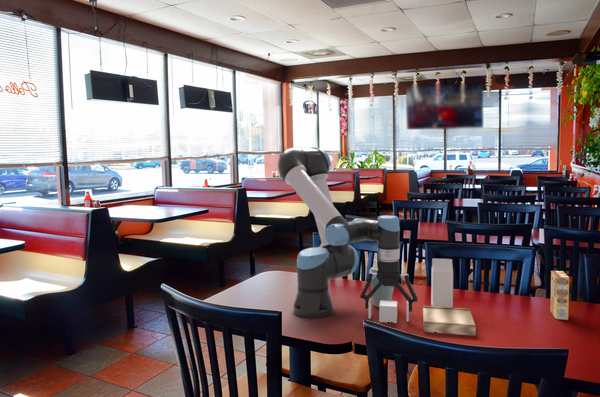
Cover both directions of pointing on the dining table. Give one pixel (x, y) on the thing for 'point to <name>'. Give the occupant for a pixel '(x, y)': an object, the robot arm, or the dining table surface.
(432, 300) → the milk carton
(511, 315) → the dining table surface
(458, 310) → the board
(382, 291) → the disposable coffee cup
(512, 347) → the dining table surface
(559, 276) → the candy box
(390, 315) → the white cube
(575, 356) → the dining table surface
